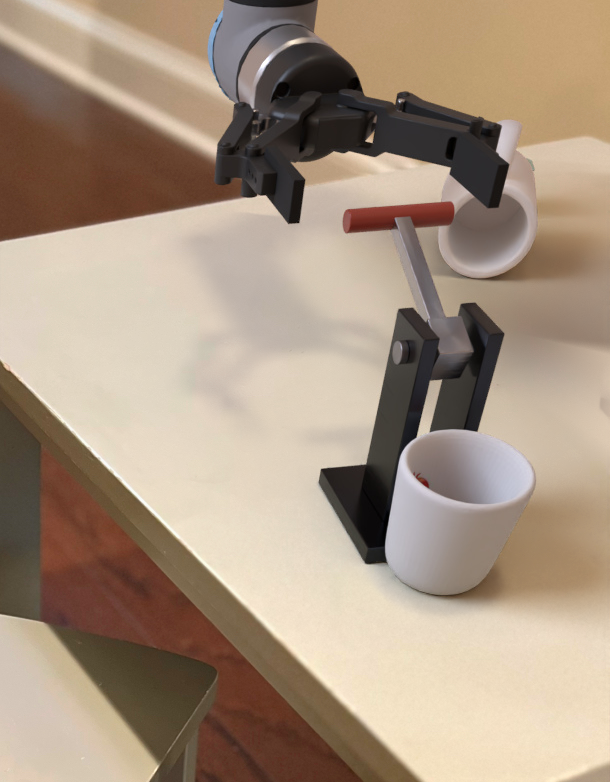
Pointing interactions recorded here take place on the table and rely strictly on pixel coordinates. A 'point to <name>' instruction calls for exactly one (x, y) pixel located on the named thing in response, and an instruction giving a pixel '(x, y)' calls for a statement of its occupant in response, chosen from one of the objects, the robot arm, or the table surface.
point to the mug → (492, 217)
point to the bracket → (410, 420)
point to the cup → (454, 508)
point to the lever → (420, 274)
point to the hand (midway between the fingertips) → (398, 194)
